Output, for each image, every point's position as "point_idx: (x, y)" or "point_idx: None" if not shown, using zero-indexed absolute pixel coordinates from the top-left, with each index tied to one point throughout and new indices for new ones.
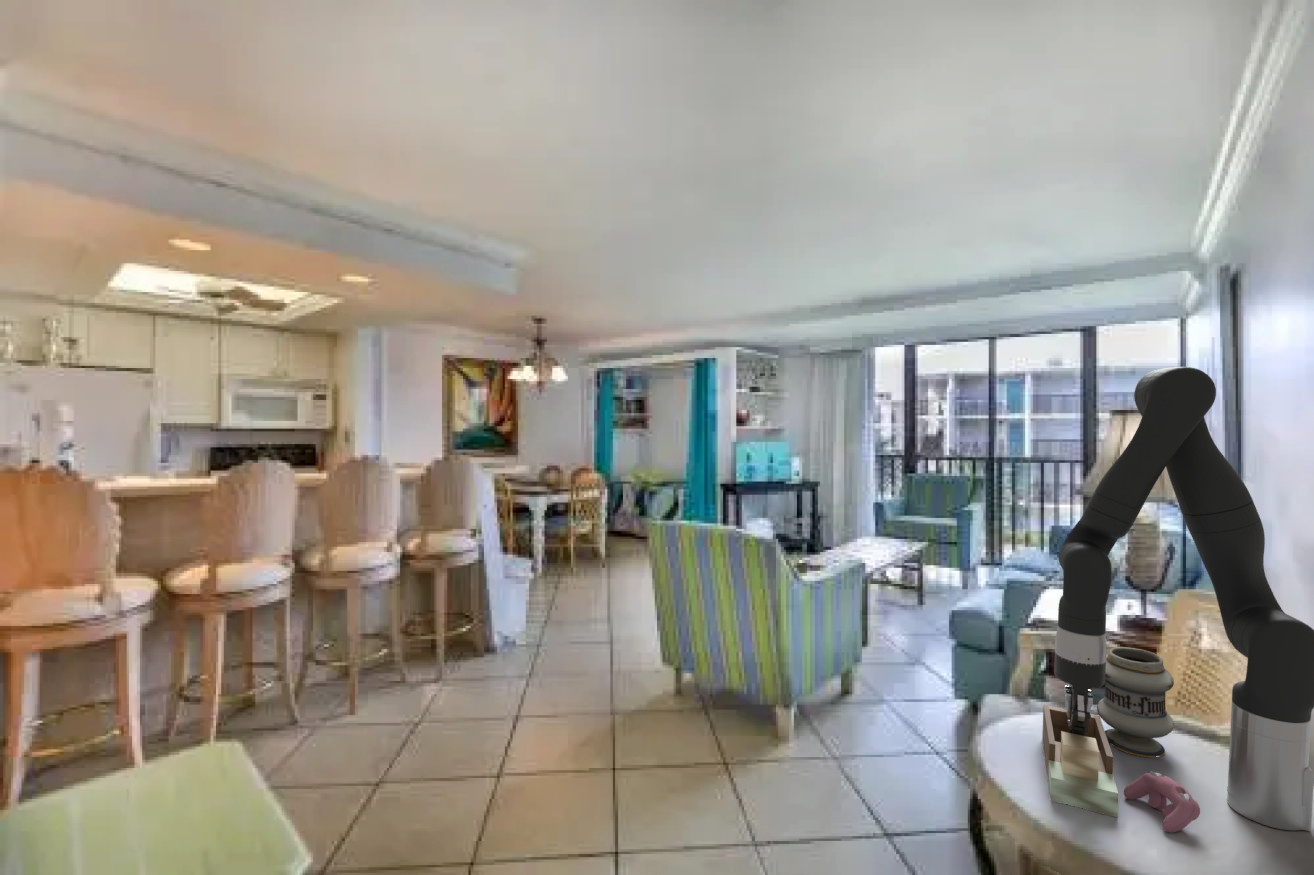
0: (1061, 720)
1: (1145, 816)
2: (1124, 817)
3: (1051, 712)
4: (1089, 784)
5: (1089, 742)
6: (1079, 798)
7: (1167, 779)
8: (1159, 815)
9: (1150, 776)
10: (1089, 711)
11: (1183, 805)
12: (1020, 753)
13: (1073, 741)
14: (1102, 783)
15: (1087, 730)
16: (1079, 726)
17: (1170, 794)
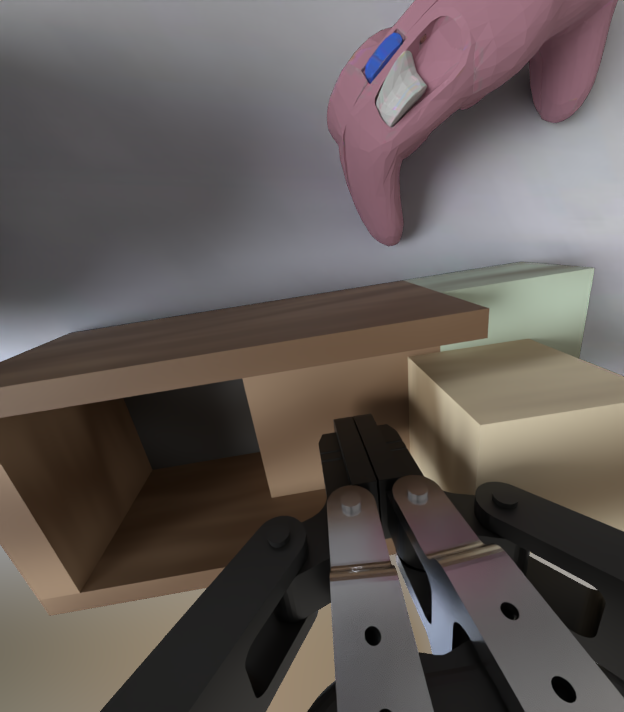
0: (86, 511)
1: (472, 178)
2: (508, 242)
3: (86, 570)
4: None
5: (557, 447)
6: None
7: (511, 7)
8: (442, 130)
9: (424, 122)
10: (591, 662)
11: None
12: None
13: (577, 509)
14: (536, 323)
15: (565, 507)
16: (528, 551)
17: (562, 27)
